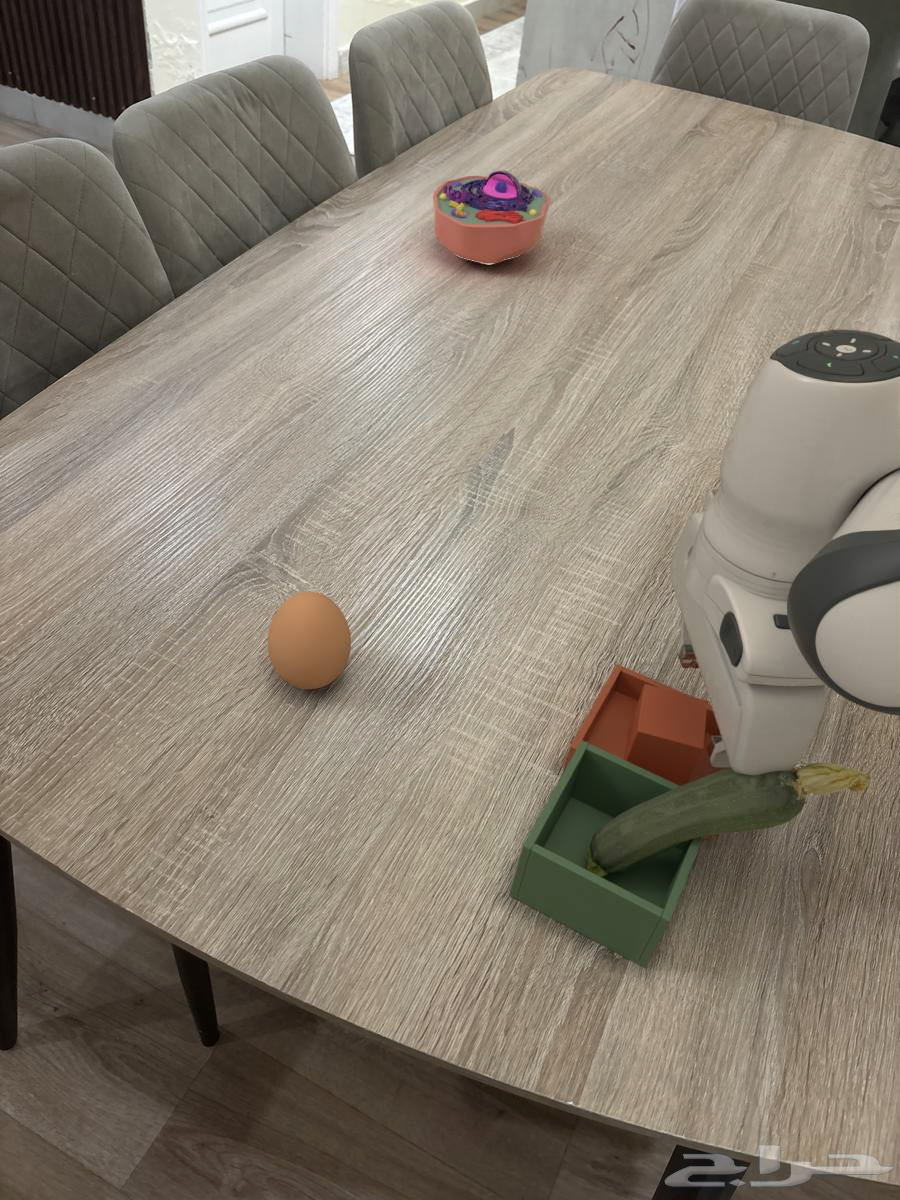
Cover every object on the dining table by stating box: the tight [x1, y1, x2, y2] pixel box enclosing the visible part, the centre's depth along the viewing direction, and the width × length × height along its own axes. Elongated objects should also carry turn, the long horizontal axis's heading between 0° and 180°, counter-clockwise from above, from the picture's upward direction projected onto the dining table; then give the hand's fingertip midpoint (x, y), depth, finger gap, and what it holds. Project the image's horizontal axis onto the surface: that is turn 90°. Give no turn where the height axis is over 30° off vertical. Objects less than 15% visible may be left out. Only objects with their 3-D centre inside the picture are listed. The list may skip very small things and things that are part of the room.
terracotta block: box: [624, 684, 708, 786], centre depth 74 cm, size 5×5×5 cm
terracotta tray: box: [563, 663, 727, 841], centre depth 75 cm, size 12×10×3 cm
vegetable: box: [586, 762, 871, 877], centre depth 62 cm, size 4×4×20 cm
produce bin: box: [508, 740, 705, 969], centre depth 65 cm, size 10×10×6 cm
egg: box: [267, 591, 352, 690], centre depth 75 cm, size 7×7×9 cm
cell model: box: [432, 170, 552, 264], centre depth 137 cm, size 17×20×11 cm
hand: (703, 708), depth 70 cm, fingers open, 8 cm apart
